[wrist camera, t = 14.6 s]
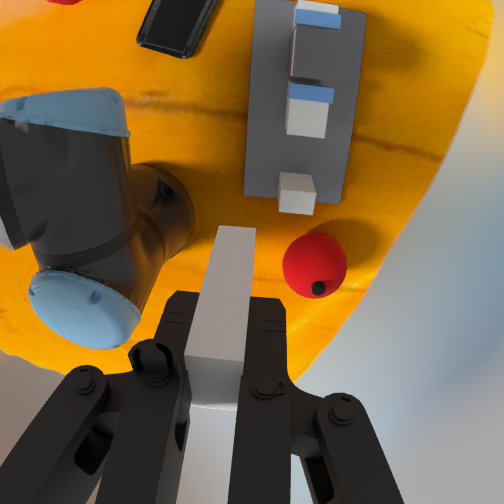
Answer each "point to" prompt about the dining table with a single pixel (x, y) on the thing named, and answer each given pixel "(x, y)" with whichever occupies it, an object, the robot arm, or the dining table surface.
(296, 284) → the ornament
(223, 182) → the dining table surface
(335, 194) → the grey plate with blocks
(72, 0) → the tomato
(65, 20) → the dining table surface
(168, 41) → the phone
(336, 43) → the plug
